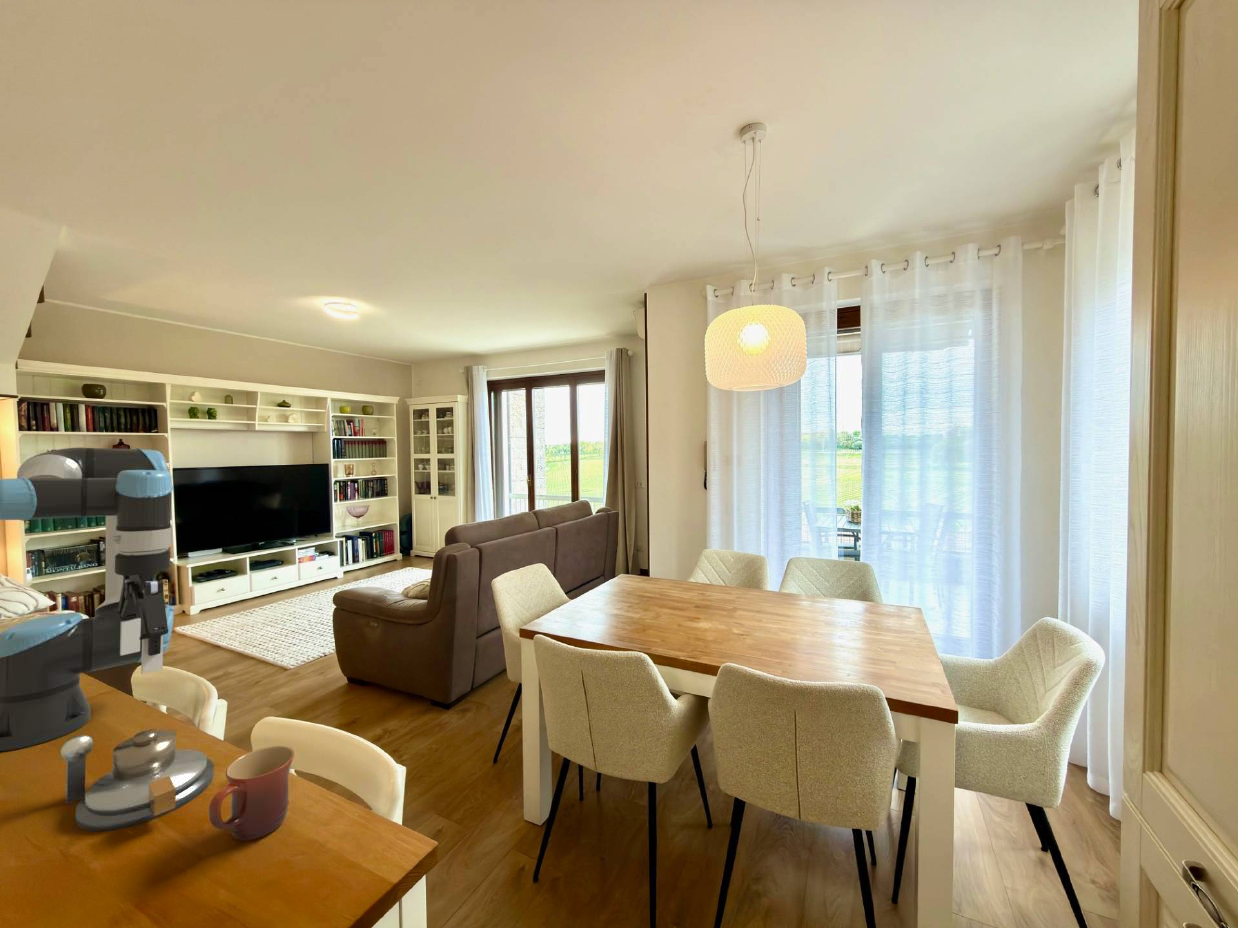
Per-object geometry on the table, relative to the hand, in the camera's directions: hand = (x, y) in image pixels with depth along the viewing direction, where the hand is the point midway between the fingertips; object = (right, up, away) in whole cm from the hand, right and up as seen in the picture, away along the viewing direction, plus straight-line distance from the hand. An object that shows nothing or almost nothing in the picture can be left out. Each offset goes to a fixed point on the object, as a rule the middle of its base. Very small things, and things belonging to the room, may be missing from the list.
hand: (140, 661), depth 92 cm
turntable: (+12, -17, -10) cm, 24 cm away
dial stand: (-1, -19, -10) cm, 22 cm away
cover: (+7, -16, -6) cm, 18 cm away
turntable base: (+10, -19, -9) cm, 24 cm away
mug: (+34, -20, -17) cm, 43 cm away
